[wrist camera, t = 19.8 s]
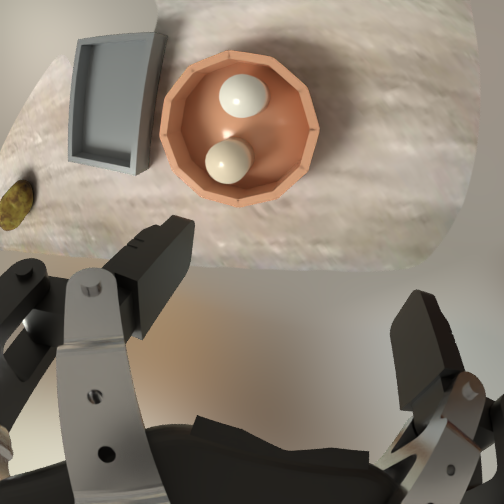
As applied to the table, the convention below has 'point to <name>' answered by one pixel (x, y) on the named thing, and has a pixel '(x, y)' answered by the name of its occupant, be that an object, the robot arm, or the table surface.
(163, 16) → the table surface
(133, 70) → the tray
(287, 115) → the bowl
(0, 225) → the potato
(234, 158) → the pebble
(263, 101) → the pebble
